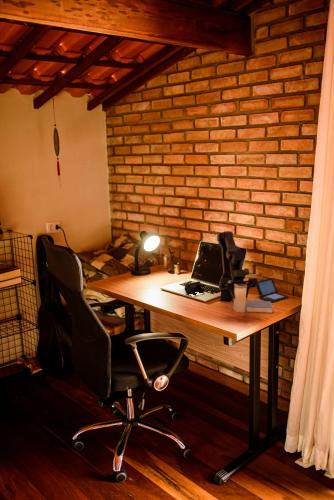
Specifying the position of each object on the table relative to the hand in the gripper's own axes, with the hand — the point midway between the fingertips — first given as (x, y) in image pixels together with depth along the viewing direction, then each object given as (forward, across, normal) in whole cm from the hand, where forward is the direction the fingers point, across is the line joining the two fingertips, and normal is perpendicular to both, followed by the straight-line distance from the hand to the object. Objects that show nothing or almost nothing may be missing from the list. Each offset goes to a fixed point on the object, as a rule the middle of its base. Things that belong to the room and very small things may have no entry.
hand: (240, 298), depth 230 cm
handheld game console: (-16, +27, +33) cm, 46 cm away
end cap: (-22, -16, +40) cm, 48 cm away
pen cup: (+4, 0, +6) cm, 7 cm away
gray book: (-3, +14, +20) cm, 24 cm away
